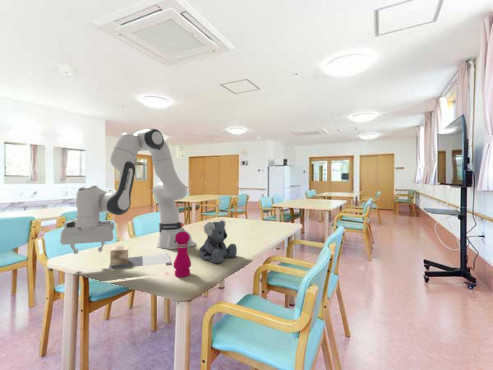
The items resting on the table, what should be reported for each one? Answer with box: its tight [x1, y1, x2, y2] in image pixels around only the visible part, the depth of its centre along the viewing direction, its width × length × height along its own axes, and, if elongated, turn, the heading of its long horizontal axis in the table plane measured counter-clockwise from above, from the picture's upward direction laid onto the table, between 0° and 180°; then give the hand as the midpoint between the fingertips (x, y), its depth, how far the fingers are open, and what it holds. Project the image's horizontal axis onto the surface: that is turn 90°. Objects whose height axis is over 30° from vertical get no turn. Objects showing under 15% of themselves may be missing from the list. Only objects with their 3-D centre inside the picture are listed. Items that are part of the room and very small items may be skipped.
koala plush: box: [198, 219, 237, 264], centre depth 132 cm, size 17×18×20 cm
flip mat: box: [108, 253, 172, 270], centre depth 123 cm, size 26×15×1 cm, turn 113°
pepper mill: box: [173, 227, 192, 278], centre depth 108 cm, size 7×7×20 cm
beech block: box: [109, 245, 129, 267], centre depth 119 cm, size 7×7×7 cm
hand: (88, 252), depth 114 cm, fingers open, 8 cm apart
